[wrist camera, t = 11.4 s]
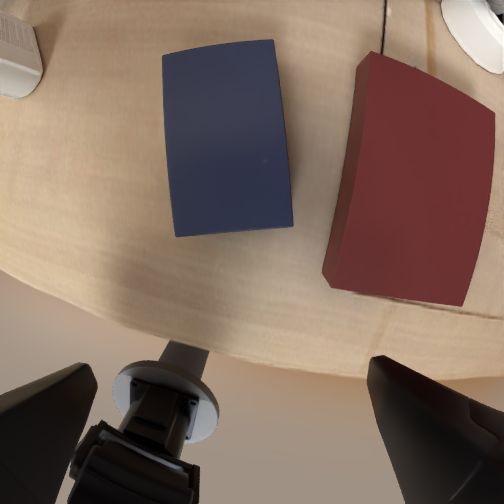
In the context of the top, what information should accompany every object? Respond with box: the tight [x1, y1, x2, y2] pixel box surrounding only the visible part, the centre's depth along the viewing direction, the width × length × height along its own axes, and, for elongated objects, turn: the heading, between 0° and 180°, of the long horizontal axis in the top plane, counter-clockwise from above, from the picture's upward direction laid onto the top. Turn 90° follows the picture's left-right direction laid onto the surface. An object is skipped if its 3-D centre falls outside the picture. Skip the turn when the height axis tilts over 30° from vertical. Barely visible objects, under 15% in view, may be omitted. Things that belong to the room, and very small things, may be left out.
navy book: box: [162, 39, 294, 237], centre depth 16 cm, size 11×7×4 cm, turn 5°
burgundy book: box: [322, 51, 495, 307], centre depth 16 cm, size 15×11×3 cm
